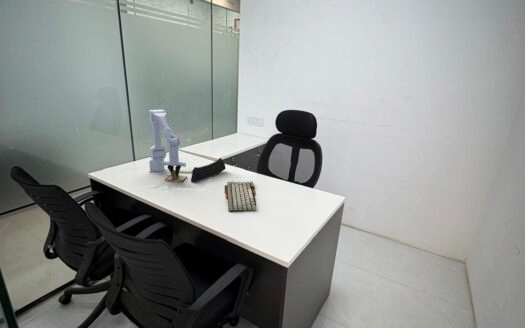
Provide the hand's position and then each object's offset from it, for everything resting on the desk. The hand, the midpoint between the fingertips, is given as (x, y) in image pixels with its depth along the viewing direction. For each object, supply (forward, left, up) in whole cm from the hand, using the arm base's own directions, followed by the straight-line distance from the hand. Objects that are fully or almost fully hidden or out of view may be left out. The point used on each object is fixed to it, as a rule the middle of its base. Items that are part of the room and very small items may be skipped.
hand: (175, 176), depth 170 cm
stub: (0, +1, -3) cm, 3 cm away
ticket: (0, +18, -3) cm, 18 cm away
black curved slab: (+20, +11, -4) cm, 23 cm away
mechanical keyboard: (+46, -17, -4) cm, 49 cm away
